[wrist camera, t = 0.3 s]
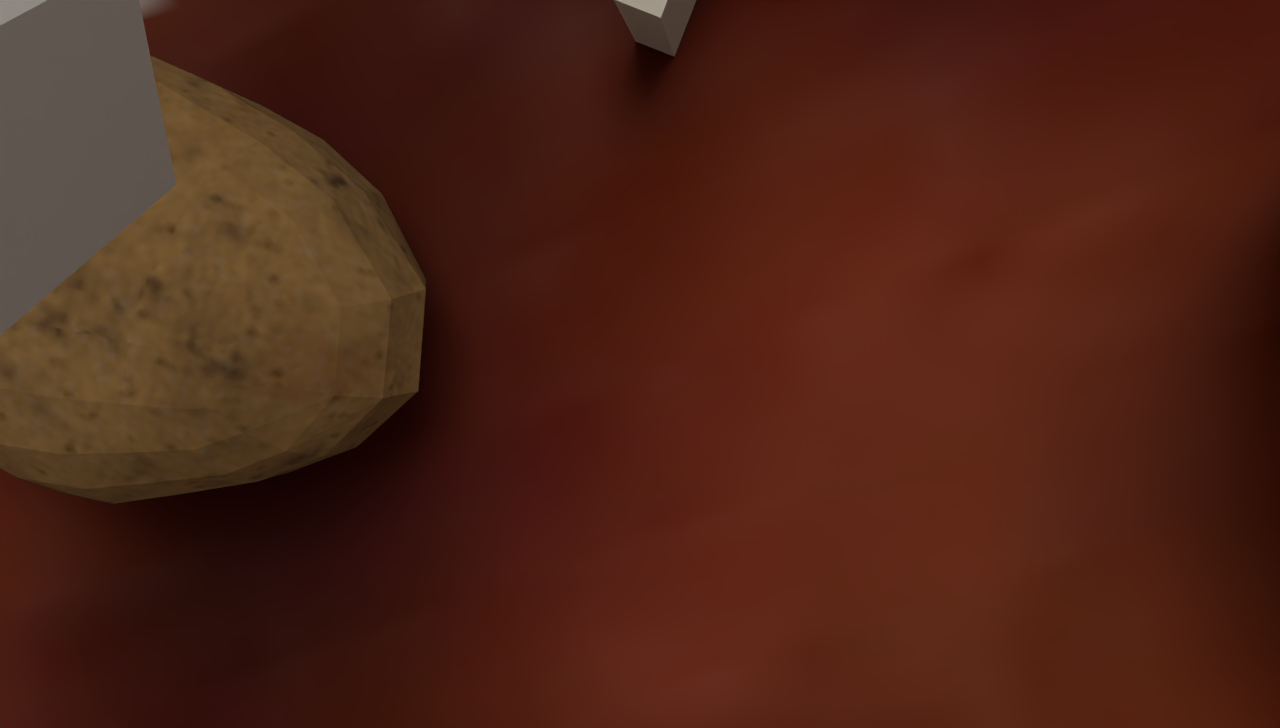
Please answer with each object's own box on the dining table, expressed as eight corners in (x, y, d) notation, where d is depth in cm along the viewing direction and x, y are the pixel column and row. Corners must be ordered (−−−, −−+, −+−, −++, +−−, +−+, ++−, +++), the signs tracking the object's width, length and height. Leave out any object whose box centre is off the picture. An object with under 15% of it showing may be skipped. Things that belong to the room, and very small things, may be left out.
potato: (435, 521, 29) (320, 634, 21) (-77, 380, 29) (-377, 436, 21) (524, 146, 27) (438, 113, 19) (-15, 7, 28) (-312, -80, 20)
